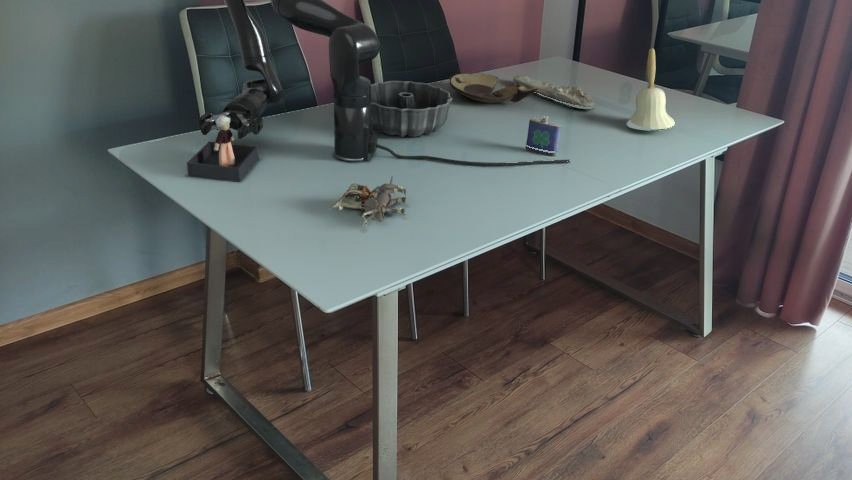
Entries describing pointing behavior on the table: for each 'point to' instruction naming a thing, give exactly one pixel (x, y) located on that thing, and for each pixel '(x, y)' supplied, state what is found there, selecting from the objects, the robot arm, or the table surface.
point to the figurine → (372, 200)
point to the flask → (543, 136)
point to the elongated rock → (556, 91)
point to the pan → (209, 167)
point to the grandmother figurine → (224, 142)
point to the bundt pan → (408, 108)
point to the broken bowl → (487, 88)
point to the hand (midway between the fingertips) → (221, 133)
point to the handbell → (651, 102)
